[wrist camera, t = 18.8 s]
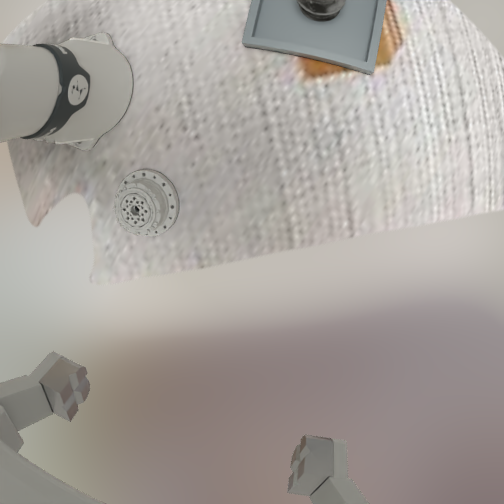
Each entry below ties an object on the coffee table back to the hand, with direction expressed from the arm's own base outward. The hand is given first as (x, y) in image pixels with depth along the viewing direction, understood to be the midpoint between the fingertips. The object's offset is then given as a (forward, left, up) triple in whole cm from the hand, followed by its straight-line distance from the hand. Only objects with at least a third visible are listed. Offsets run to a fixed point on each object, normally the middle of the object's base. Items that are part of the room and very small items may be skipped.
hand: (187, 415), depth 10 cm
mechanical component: (-18, -6, -36) cm, 40 cm away
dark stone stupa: (0, +26, -34) cm, 43 cm away
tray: (0, +26, -35) cm, 44 cm away
